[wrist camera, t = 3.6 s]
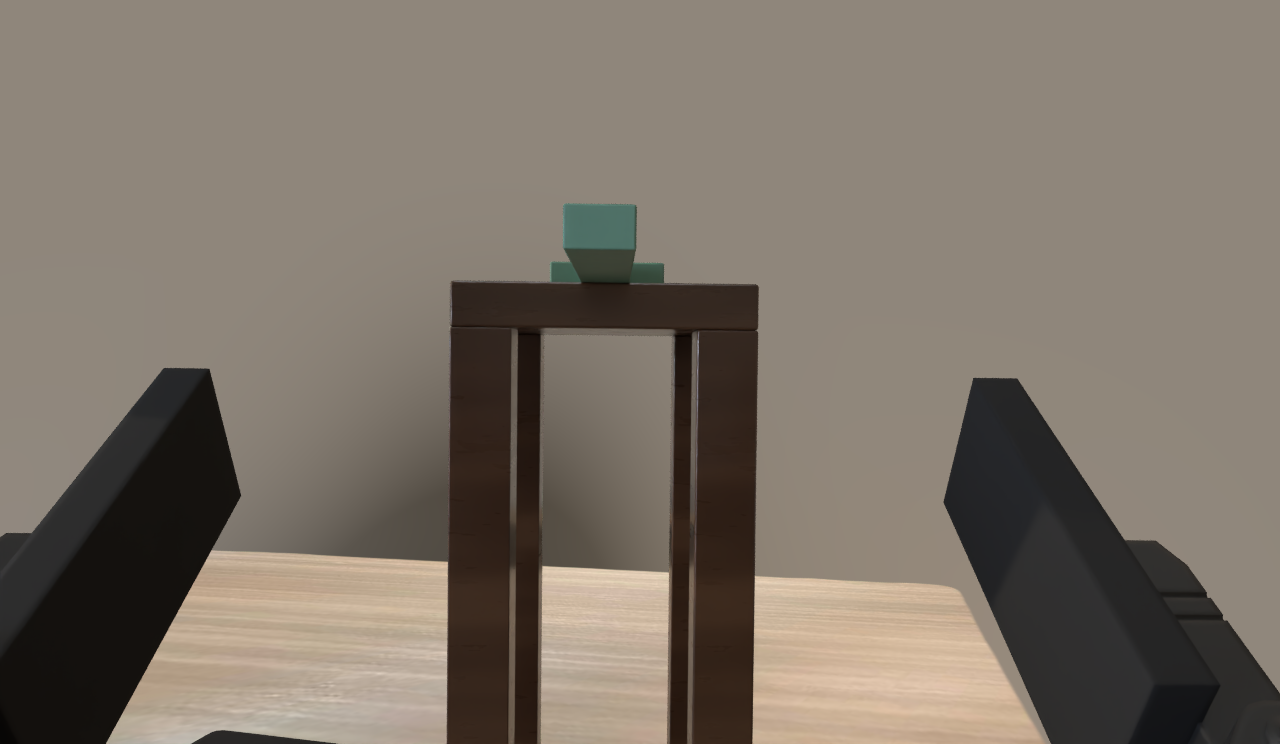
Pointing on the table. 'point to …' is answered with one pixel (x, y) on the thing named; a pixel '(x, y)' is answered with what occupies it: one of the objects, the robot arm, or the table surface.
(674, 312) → the plant stand
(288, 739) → the smartphone
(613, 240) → the fork
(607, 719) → the table surface
